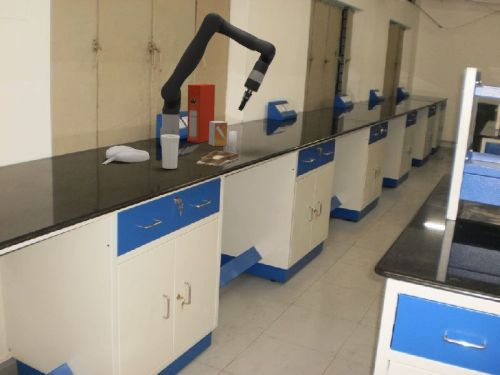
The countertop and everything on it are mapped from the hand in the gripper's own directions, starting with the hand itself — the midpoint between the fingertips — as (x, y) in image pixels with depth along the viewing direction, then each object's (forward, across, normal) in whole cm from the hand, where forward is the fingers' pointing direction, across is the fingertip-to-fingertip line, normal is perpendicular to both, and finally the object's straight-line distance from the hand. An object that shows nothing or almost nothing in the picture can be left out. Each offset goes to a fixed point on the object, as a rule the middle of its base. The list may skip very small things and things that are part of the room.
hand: (240, 109), depth 278 cm
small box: (+20, -29, -2) cm, 35 cm away
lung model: (+48, +22, -39) cm, 66 cm away
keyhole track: (+29, +17, +1) cm, 33 cm away
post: (+22, 0, +6) cm, 23 cm away
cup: (+41, +36, -18) cm, 57 cm away
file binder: (+22, -41, -11) cm, 48 cm away
